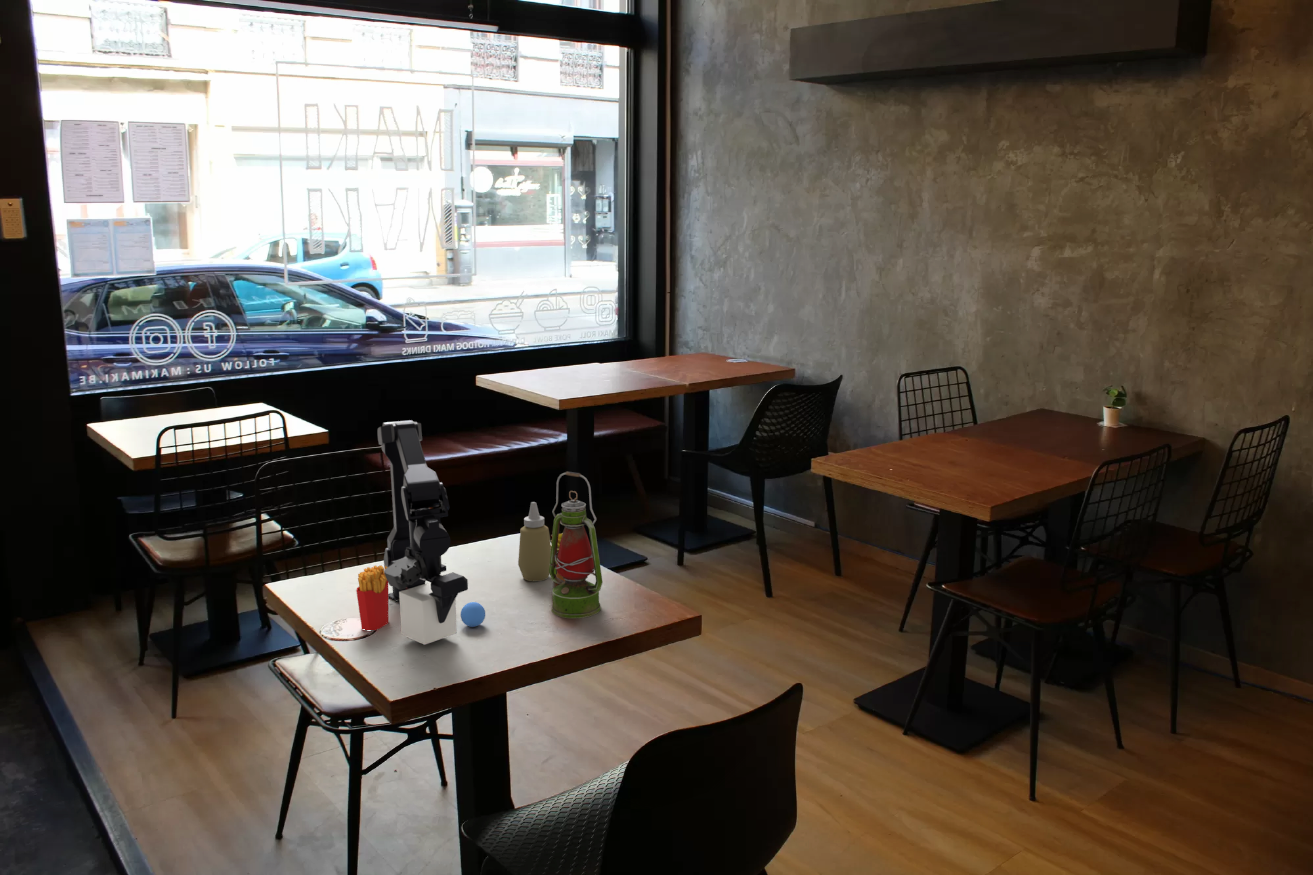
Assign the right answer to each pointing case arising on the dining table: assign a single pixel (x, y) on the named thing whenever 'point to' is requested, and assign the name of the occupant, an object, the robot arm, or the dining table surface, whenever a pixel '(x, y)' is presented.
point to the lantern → (575, 560)
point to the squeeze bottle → (534, 547)
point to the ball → (472, 614)
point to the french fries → (373, 598)
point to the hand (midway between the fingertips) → (429, 617)
